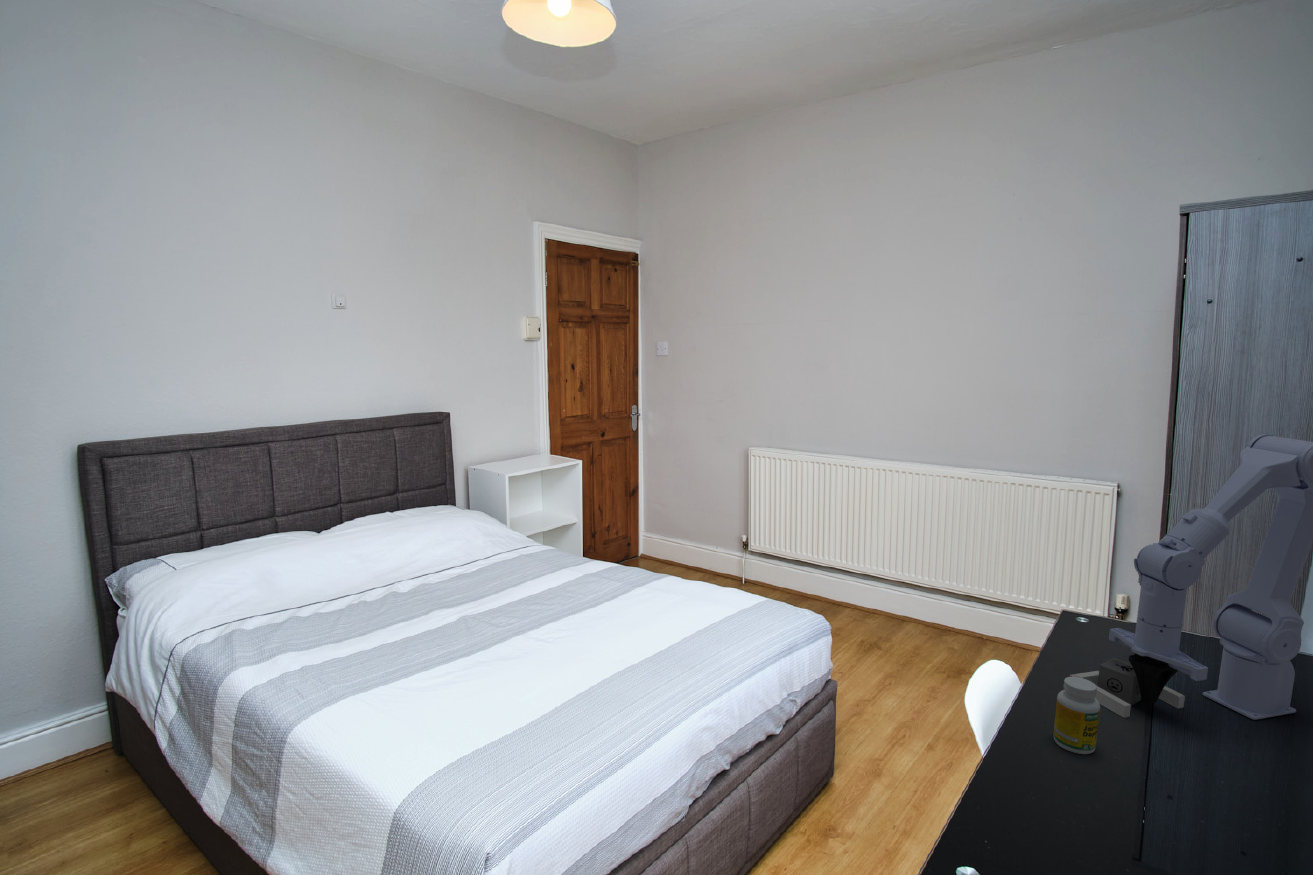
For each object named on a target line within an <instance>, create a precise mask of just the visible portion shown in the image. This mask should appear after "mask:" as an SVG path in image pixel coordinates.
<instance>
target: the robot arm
mask: <svg viewBox="0 0 1313 875" xmlns="http://www.w3.org/2000/svg"><path fill="white" fill-rule="evenodd" d="M1239 462H1240V463H1239V464H1240V465H1239V467H1238V468H1237V469H1236V470H1235V471H1234V472H1233V474H1232V475H1231V476H1230V477H1229V479H1227V481H1226V482H1225V483H1224V484H1223V485H1222V487H1221V488H1220V489H1219V491H1217V493H1216V494H1215V495H1214V497H1213V498H1212V499H1211V500H1210V501H1209V502H1208V504H1207V505H1206V506H1205V507H1203V508H1194V509H1190V510H1189V511H1188V512H1185V514H1184V515H1183V516H1182V517H1181V519H1180V520H1179V521H1178V522H1177V523H1176V524H1175V525H1174V526H1173V527H1172V528H1171V529H1170V530H1169V531H1168V532H1167V533H1166V534H1165V535H1164V536H1163V538H1161V539H1160V540H1159V541H1158V542H1153V543H1152V544H1151V543H1150V544H1148V545H1145V546H1144V547H1142V548H1141V549H1140V550H1139V552H1138V554H1137V556H1136V557H1135V558H1133V566H1134V569H1135V571H1136V573H1137V574H1138V581H1137V582H1138V583H1139V586H1140V592H1139V597H1138V598H1139V599H1138V600H1139V601H1138V608H1137V617H1136V622H1135V624H1136V625H1135V633H1134V632H1131V631H1128V630H1125V629H1122V628H1120V627H1116V628H1110V629H1109V633H1108V640H1109V641H1111V642H1113V643H1119V644H1121V645H1124V646H1126V647H1128V648H1130V650H1131V652H1132V653H1133V654H1130V655H1129V656H1128V663H1130V664H1131V665H1132V667H1133V669H1134V671H1135V674H1136V677H1137V680H1138V684H1139V688H1140V694H1141V700H1140V701H1142V702H1143V703H1145V704H1148V705H1149V704H1154V703H1155V704H1156V703H1158V700H1159V696H1160V694H1161V692H1162V690H1163V688H1164V687H1165V686H1166V685H1167V684H1168V682H1169V681H1170V680H1171V679H1172V677H1174V675H1175V674H1176V673H1177V672H1181V673H1183V674H1186V675H1188V676H1189V677H1190V679H1191V680H1193V681H1196V682H1199V681H1201V682H1202V681H1205V680H1207V679H1208V671H1209V667H1208V666H1206V665H1203V664H1202V663H1200V662H1198V661H1197V660H1195V659H1193V658H1192V657H1190V656H1189V655H1187V654H1186V653H1184V652H1183V651H1181V650H1180V643H1181V638H1182V629H1183V621H1184V615H1185V608H1186V600H1187V591H1188V588H1190V587H1191V586H1193V585H1194V584H1195V583H1197V582H1198V580H1199V578H1200V577H1201V574H1202V568H1204V565H1205V563H1206V558H1207V557H1208V555H1210V554H1211V552H1213V551H1214V550H1215V549H1216V547H1218V545H1220V544H1221V543H1222V542H1223V541H1224V540H1225V538H1226V537H1227V536H1229V535H1230V528H1229V522H1230V521H1231V520H1232V519H1234V518H1235V517H1236V516H1237V515H1238V514H1239V513H1240V512H1242V511H1243V510H1244V509H1246V508H1247V506H1249V505H1250V504H1252V502H1253V501H1254V500H1256V499H1257V498H1258V497H1259V496H1261V495H1262V494H1263V493H1264V492H1265V491H1266V490H1268V489H1273V490H1274V492H1275V493H1276V494H1277V496H1278V498H1279V500H1278V503H1277V505H1276V509H1275V511H1274V514H1273V516H1272V519H1271V522H1270V524H1269V526H1268V530H1267V532H1266V535H1265V537H1264V540H1263V543H1262V545H1261V548H1260V551H1259V554H1258V556H1257V559H1256V562H1255V564H1254V566H1253V570H1252V572H1251V575H1250V578H1249V580H1248V583H1247V585H1246V588H1245V589H1242V590H1241V591H1237V592H1234V593H1231V594H1228V595H1227V597H1226V599H1225V601H1224V604H1223V605H1222V606H1221V607H1220V608H1219V609H1218V610H1217V612H1216V613H1215V615H1214V618H1213V620H1212V627H1213V628H1212V629H1213V632H1214V633H1215V634H1216V636H1218V637H1219V638H1220V639H1219V644H1220V645H1221V646H1222V647H1223V649H1222V654H1221V663H1220V669H1219V677H1218V682H1217V683H1218V684H1217V688H1216V689H1214V690H1213V689H1212V690H1209V691H1208V690H1207V691H1203V692H1202V695H1203V696H1204V697H1205V698H1208V699H1210V700H1212V701H1214V702H1216V703H1218V704H1220V705H1222V706H1225V707H1226V708H1228V709H1230V710H1233V711H1235V713H1238V714H1241V715H1243V716H1245V717H1247V718H1249V719H1251V720H1255V721H1256V720H1257V721H1258V720H1262V719H1268V718H1272V717H1273V718H1274V717H1277V716H1278V717H1279V716H1285V715H1288V714H1289V715H1290V714H1294V713H1297V710H1296V708H1294V707H1292V706H1291V703H1292V702H1291V700H1292V695H1293V688H1294V682H1295V676H1296V674H1295V672H1296V671H1295V668H1294V665H1293V663H1292V661H1291V660H1292V659H1293V658H1295V657H1296V656H1297V655H1298V654H1299V651H1301V647H1302V630H1303V626H1304V624H1305V622H1304V620H1303V619H1302V617H1301V616H1300V615H1299V613H1298V612H1297V610H1296V609H1294V607H1293V606H1292V604H1291V602H1292V601H1291V600H1292V598H1293V595H1294V593H1295V590H1296V588H1297V586H1298V585H1297V584H1298V583H1299V579H1300V577H1301V574H1302V571H1303V570H1304V566H1305V564H1306V562H1307V560H1308V559H1307V558H1308V556H1309V553H1310V551H1311V549H1312V545H1313V441H1310V440H1303V439H1296V438H1288V437H1282V436H1277V435H1273V434H1267V433H1263V434H1259V435H1257V436H1255V437H1254V438H1252V439H1251V441H1250V442H1249V443H1248V444H1247V446H1246V447H1245V448H1244V449H1242V450H1241V451H1240V454H1239Z"/></svg>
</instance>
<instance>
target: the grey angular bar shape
mask: <svg viewBox="0 0 1313 875" xmlns="http://www.w3.org/2000/svg"><path fill="white" fill-rule="evenodd" d="M1069 677H1079V678H1083V679H1086V680H1089V681H1091V682H1092V683H1094V684H1095V685H1096V687H1097V693H1096V696H1095V698H1096V699H1097V700H1098V702H1099V704H1100V706H1103V707H1105V708H1106V709H1107V710H1110V711H1111V712H1113V713H1115V714H1117V715H1118V716H1120V717H1122V718H1123V719H1124V718H1126V719H1127V718H1130V715H1131V707H1132V706H1131V705H1130V704H1128V703H1127V702H1125V701H1123V700H1121V699H1119V698H1118V697H1116V696H1114V695H1112V694H1110V693H1109V692H1107V691H1105V690H1103V689H1101V688H1100V687H1098V677H1099V670H1094V671H1093V670H1092V671H1089V672H1087V671H1086V672H1080V673H1073V674H1069ZM1158 700H1161V701H1162V702H1164V703H1166V704H1168V705H1170V706H1172V707H1174V708H1175V709H1183V708H1184V706H1185V700H1186V696H1185V695H1183V694H1182V693H1180V692H1178V691H1176V690H1175V689H1172V688H1170V687H1168V686H1166V685H1165V687H1164V688H1163V690H1162V692H1161V694H1160V696H1159V698H1158Z"/></svg>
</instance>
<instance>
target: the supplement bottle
mask: <svg viewBox="0 0 1313 875" xmlns="http://www.w3.org/2000/svg"><path fill="white" fill-rule="evenodd" d="M1063 681H1064V682H1063V689H1062V690H1060V691H1059V692H1058V694H1057V696H1056V705H1055V706H1056V707H1055V715H1054V717H1055V718H1054V725H1053V726H1054V727H1053V735H1052V736H1053V739H1054V742H1055V743H1056V744H1057V745H1058V746H1059V747H1060V748H1062V749H1064V750H1066V751H1068V752H1071V753H1074V754H1078V755H1090V754H1092V753H1094V752H1095V750H1096V747H1097V740H1098V739H1097V738H1098V732H1099V723H1100V721H1099V720H1100V715H1101V704H1099V702H1098V700H1097V699H1096V698H1095V696H1096V693H1097V687H1096V685H1095V684H1094V683H1092V682H1091V681H1089V680H1086V679H1083V678H1079V677H1070V676H1067V677H1065V678H1064V680H1063Z"/></svg>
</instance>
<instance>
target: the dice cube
mask: <svg viewBox="0 0 1313 875" xmlns="http://www.w3.org/2000/svg"><path fill="white" fill-rule="evenodd" d="M1098 671H1099V677H1098V687H1100V688H1101V689H1103V690H1105V691H1107V692H1109V693H1110V694H1112V695H1114V696H1116V697H1118V698H1119V699H1121V700H1123V701H1125V702H1127V703H1128V704H1130V705H1131V707H1132V706H1134V705H1136V704H1137V703H1139V702H1140V701H1142V700H1141V694H1140V688H1139V684H1138V680H1137V677H1136V674H1135V671H1134V669H1133V667H1132V665H1131V663H1130V662H1126V661H1124V660H1121V659H1118V658H1115V657H1112V658H1111V659H1108V660H1106V661H1105V662H1104V663H1101V664H1100V665H1099V670H1098Z"/></svg>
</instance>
